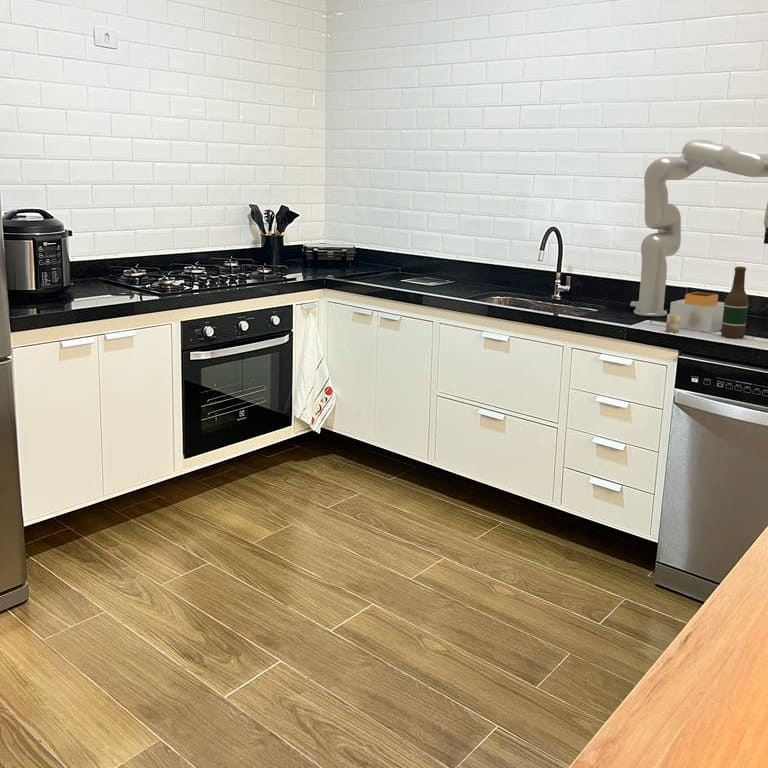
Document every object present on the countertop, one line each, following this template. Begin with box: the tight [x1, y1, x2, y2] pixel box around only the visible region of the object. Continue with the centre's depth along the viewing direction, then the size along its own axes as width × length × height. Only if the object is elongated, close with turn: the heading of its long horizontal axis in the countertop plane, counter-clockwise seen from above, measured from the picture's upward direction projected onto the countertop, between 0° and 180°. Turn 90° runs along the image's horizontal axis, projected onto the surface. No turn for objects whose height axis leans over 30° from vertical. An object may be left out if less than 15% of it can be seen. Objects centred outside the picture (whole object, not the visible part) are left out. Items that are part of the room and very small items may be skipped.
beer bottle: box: [720, 266, 749, 339], centre depth 286 cm, size 8×8×24 cm
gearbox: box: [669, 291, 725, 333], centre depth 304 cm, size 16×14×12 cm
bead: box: [665, 313, 681, 333], centre depth 296 cm, size 4×4×6 cm
